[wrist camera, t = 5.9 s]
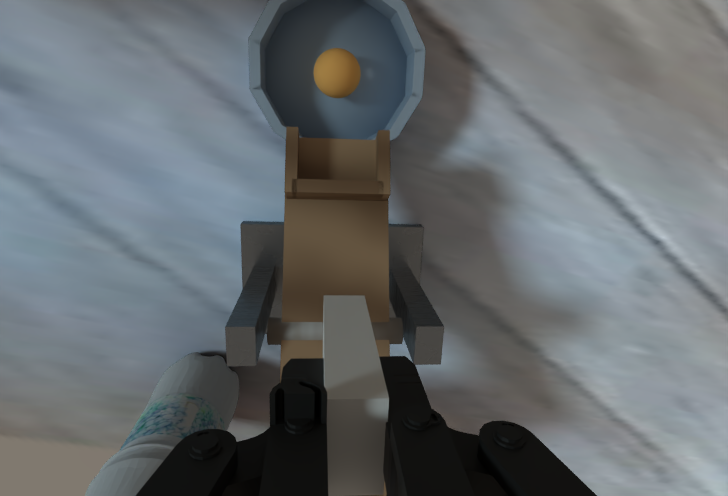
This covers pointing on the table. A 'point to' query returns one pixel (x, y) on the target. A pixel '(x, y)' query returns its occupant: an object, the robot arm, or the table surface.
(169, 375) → the bottle
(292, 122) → the bowl
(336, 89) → the ball
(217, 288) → the table surface
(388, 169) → the lever
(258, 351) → the fulcrum
